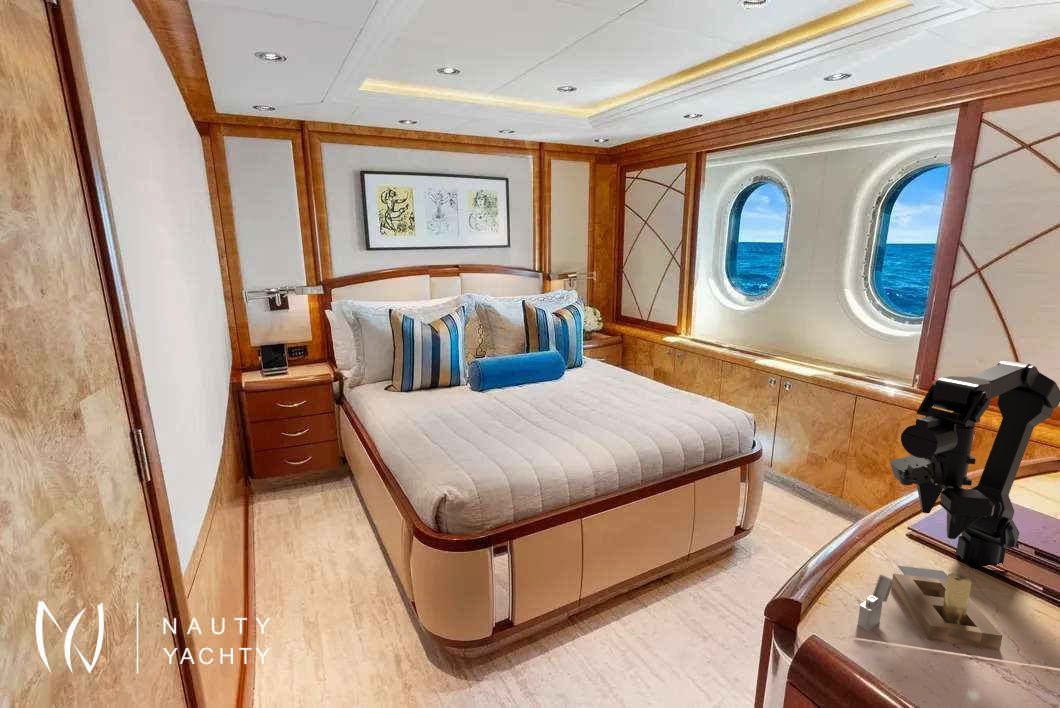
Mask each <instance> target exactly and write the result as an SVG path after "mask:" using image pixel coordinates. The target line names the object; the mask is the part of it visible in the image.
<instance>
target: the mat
mask: <svg viewBox="0 0 1060 708" xmlns="http://www.w3.org/2000/svg"><path fill="white" fill-rule="evenodd" d="M897 567H898V568H899V569H900V570H901V572H902V573H903V575H910V576H918V577H926V578H934V579H942V580H947V579H948V574H947V573H946V572H945V571H944V570H940V569H931V568H922V567H914V566H908V565H907V566H905V565H897Z"/></svg>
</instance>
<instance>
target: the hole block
mask: <svg viewBox="0 0 1060 708" xmlns="http://www.w3.org/2000/svg"><path fill="white" fill-rule="evenodd" d="M891 579H893V584H892V587H891V589H893V591H894V592H895V594H896V595H897V596H898V598H899V599H900V602H902V605H904V606H905V609H907V611H908V612H909V614H910V616H911V617H912V618H913V620H914V622H915V623H916V624H917V626H918V627H919V629H920V630H921V632H922V634H923V635H924V636H925V637H926V639H927V640H928V641H934V642H935V641H936V642H940V643H948V644H954V645H960V646H967V647H975V648H980V649H981V648H982V649H987V650H994V651H1001V646H1002V640H1003V634H1002V633H1001V632H1000V631H999V629H997V628H996V626H994V624H993V623H992V622H991V621H990V620H989V618H988V617H987V616H986V615H985V614H984V613H983V612H982V610H980V608H979V607H978V606H977V605H976V604H975V602H974V601H973V600H972V599H971V598H970V597H969V600H968V605H967V611H966V616H965V622H964V625H958V624H950V623H945V621H944V620H943V619H942V617H941V615H942V609H943V603H944V597H945V591H946V585H947V580H942V579H934V578H926V577H918V576H910V575H904V574H901V573H893V574H892V577H891Z"/></svg>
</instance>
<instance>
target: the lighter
mask: <svg viewBox="0 0 1060 708" xmlns="http://www.w3.org/2000/svg"><path fill="white" fill-rule="evenodd" d="M876 581H877V582H876V584H875V587H874V590H873V592H872V594H871V595H869V596H867V597H866V599H865V601H863V602H862V603H861V604H859V612H858V618H857V626H858V627H860V628H861V629H863V630H865V631H867V632H869V631H870V630H872V629H873V628H874V627H876V626H877V625H878V624H880V623H881V617H882V616H881V615H882V608H883V604H884V603H885V602H886V603H887V601H888V597H889V595H890V592H891V589H892V584H893V579H892V577H891V578H890V577H888V576H886V575H884V574H879V575H878V579H877V580H876Z"/></svg>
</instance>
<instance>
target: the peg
mask: <svg viewBox="0 0 1060 708" xmlns="http://www.w3.org/2000/svg"><path fill="white" fill-rule="evenodd" d="M947 576H948V579H947V585H946V591H945V597H944V603H943V609H942V615H941V617H942V619H943V620H944V621H945V623H950V624H958V625H964V622H965V616H966V611H967V605H968V600H969V598H970V593H971V590H972V589H971V588H972V583H973V582H972V580H971V579H969V578H968V577H967V576H964V575H962V574H960V573H959V574H958V573H954V572H952V573H948V574H947Z"/></svg>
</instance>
